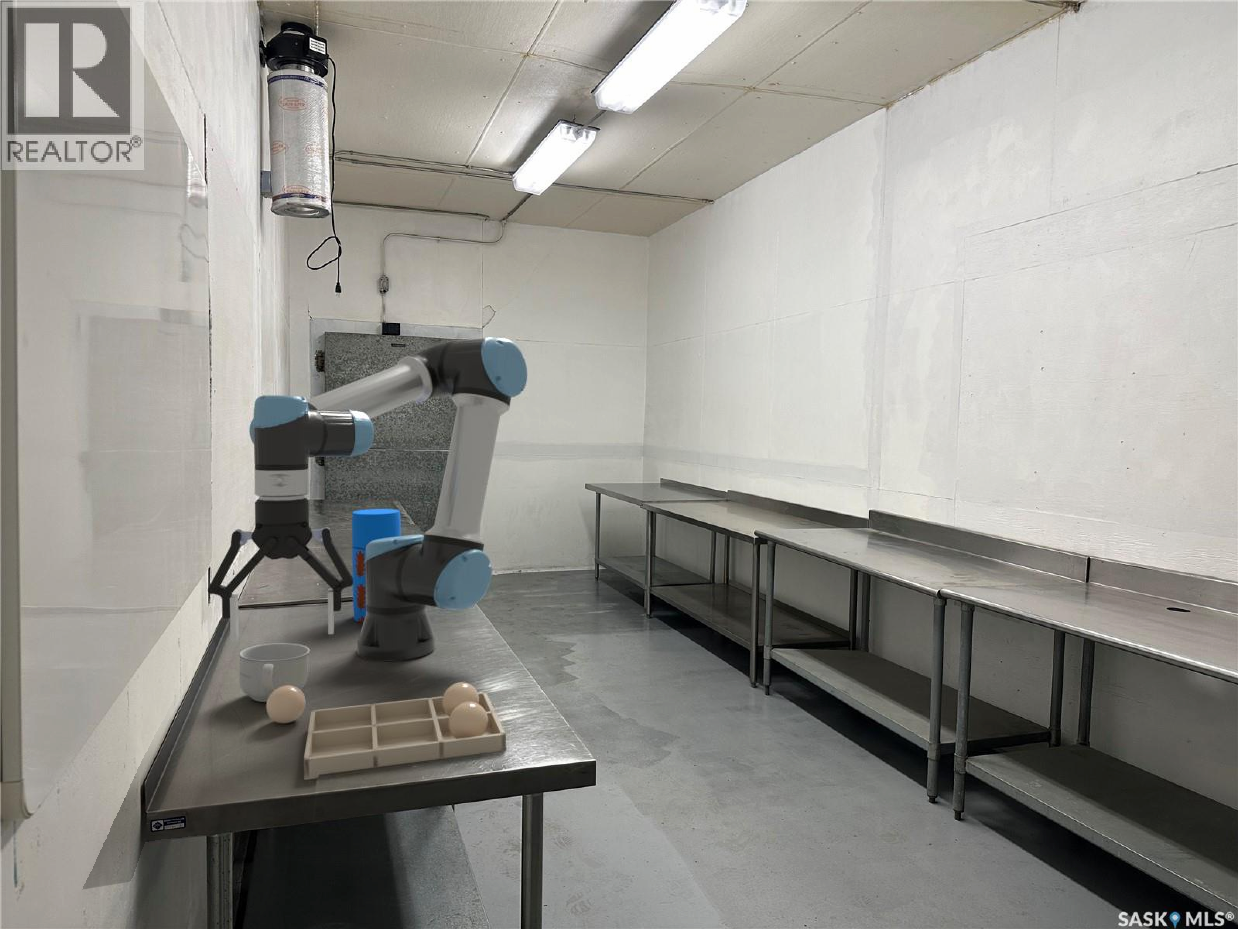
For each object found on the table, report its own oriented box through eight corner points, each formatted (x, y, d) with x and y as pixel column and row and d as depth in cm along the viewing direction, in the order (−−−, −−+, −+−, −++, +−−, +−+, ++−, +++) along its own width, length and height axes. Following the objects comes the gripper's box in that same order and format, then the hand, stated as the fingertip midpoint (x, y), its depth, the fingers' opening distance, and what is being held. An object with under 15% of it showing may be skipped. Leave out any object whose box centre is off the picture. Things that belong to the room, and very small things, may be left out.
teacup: (254, 686, 136) (253, 641, 135) (318, 684, 137) (317, 640, 136) (220, 716, 122) (219, 666, 121) (292, 715, 123) (291, 665, 122)
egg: (268, 717, 122) (267, 682, 121) (307, 713, 123) (306, 678, 123) (264, 731, 116) (263, 694, 116) (304, 726, 118) (304, 690, 118)
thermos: (343, 620, 179) (341, 513, 178) (374, 609, 189) (372, 508, 188) (381, 625, 175) (380, 515, 174) (410, 614, 185) (409, 510, 184)
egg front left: (446, 735, 114) (446, 698, 113) (484, 731, 116) (484, 694, 115) (451, 751, 109) (450, 712, 108) (491, 746, 110) (490, 707, 110)
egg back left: (440, 714, 122) (440, 679, 122) (476, 710, 124) (476, 675, 123) (444, 728, 117) (444, 691, 116) (481, 723, 118) (481, 687, 118)
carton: (311, 727, 118) (311, 710, 117) (485, 708, 126) (485, 691, 126) (304, 780, 101) (303, 759, 101) (505, 753, 109) (505, 734, 109)
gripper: (184, 501, 110) (187, 649, 111) (368, 498, 118) (369, 635, 119) (194, 496, 117) (197, 635, 118) (368, 493, 125) (368, 623, 126)
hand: (283, 635), depth 119 cm, fingers open, 13 cm apart
